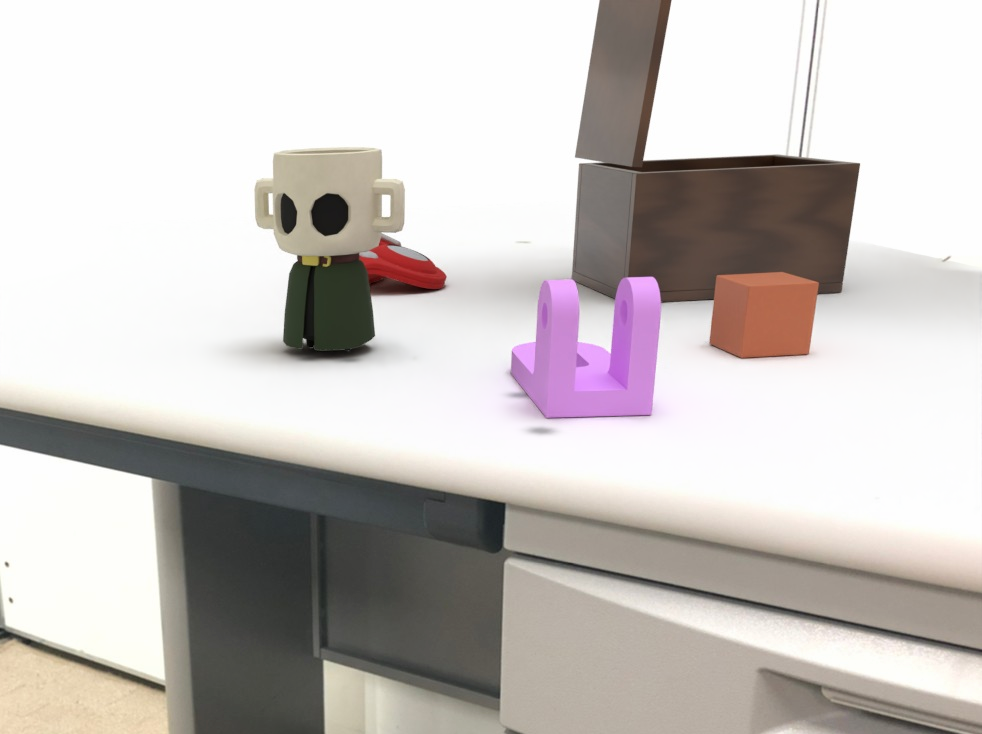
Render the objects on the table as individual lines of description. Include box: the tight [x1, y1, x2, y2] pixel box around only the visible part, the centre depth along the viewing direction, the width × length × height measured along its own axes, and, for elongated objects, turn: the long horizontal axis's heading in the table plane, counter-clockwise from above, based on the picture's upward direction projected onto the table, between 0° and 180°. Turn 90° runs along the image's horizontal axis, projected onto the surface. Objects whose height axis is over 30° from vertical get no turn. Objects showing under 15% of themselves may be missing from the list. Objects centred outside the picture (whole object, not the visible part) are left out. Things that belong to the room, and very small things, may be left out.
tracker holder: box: [359, 232, 448, 290], centre depth 106 cm, size 12×4×10 cm
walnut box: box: [571, 153, 861, 303], centre depth 98 cm, size 18×13×10 cm
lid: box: [574, 0, 672, 167], centre depth 92 cm, size 18×13×6 cm
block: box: [708, 272, 819, 359], centre depth 76 cm, size 4×4×4 cm
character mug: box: [253, 146, 406, 352], centre depth 80 cm, size 11×7×13 cm, turn 60°
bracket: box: [510, 277, 662, 419], centre depth 69 cm, size 13×6×7 cm, turn 179°
